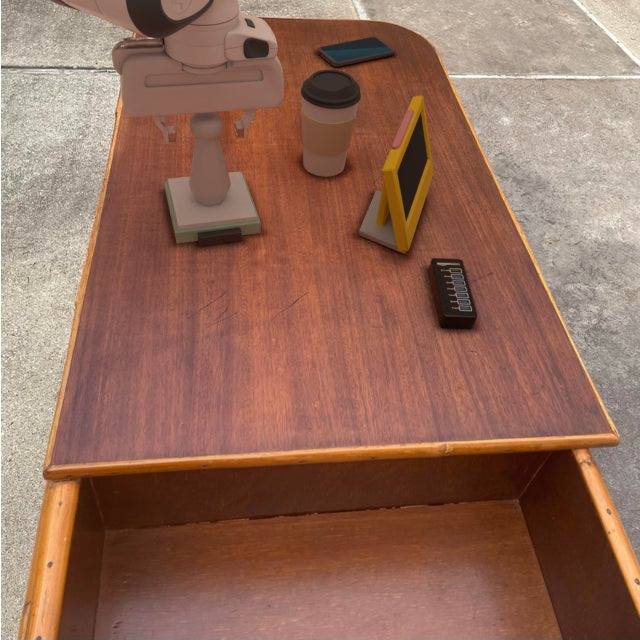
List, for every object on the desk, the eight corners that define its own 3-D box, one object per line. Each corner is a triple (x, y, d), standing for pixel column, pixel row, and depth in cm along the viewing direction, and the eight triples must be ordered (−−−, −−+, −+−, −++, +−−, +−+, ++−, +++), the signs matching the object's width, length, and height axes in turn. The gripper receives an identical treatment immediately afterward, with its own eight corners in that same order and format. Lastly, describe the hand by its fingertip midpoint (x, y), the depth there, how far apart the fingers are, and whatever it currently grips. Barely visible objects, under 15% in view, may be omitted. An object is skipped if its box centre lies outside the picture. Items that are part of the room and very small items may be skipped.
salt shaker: (196, 182, 95) (190, 101, 85) (234, 188, 94) (232, 107, 85) (185, 206, 91) (177, 124, 81) (225, 212, 90) (222, 130, 81)
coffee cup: (284, 162, 105) (288, 74, 94) (322, 142, 110) (330, 57, 98) (325, 187, 101) (334, 99, 90) (362, 166, 106) (375, 79, 95)
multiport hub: (440, 328, 83) (444, 316, 81) (427, 269, 90) (431, 257, 88) (473, 329, 83) (478, 317, 81) (458, 270, 90) (462, 258, 89)
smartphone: (315, 51, 132) (315, 47, 131) (375, 39, 138) (376, 35, 137) (334, 68, 128) (335, 63, 127) (395, 55, 134) (396, 50, 133)
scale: (177, 249, 89) (176, 234, 87) (165, 192, 97) (163, 177, 95) (262, 238, 92) (263, 223, 90) (243, 184, 100) (243, 168, 98)
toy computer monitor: (404, 269, 89) (426, 175, 78) (349, 255, 91) (364, 160, 79) (429, 190, 103) (452, 99, 91) (382, 178, 104) (398, 87, 92)
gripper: (111, 50, 71) (127, 158, 81) (290, 43, 76) (285, 145, 86) (107, 26, 75) (123, 132, 85) (277, 20, 80) (273, 121, 90)
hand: (205, 138), depth 85 cm, fingers open, 8 cm apart
